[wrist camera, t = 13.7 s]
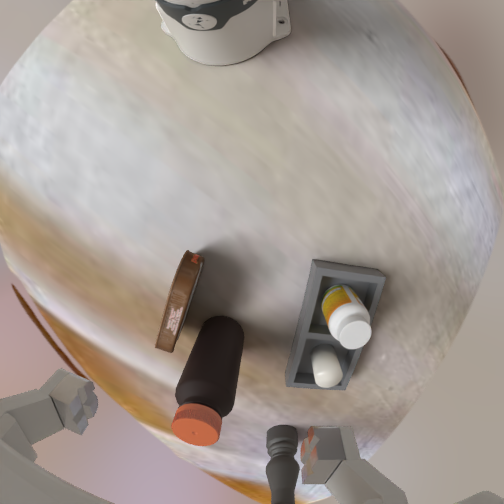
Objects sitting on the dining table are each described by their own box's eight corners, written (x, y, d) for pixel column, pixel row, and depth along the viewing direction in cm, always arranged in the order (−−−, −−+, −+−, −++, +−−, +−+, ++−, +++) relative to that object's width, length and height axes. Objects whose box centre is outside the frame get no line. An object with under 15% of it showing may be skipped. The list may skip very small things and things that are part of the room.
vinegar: (218, 306, 42) (184, 401, 22) (253, 333, 43) (242, 435, 23) (192, 334, 43) (151, 427, 24) (226, 358, 44) (203, 457, 25)
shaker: (313, 342, 42) (319, 366, 36) (338, 344, 42) (346, 367, 36) (307, 362, 43) (311, 386, 37) (331, 364, 43) (338, 388, 37)
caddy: (312, 259, 39) (316, 267, 36) (377, 269, 39) (385, 277, 35) (285, 372, 44) (285, 386, 41) (341, 377, 44) (345, 390, 41)
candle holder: (279, 421, 48) (279, 534, 24) (303, 431, 49) (311, 537, 24) (260, 435, 49) (254, 540, 25) (284, 445, 50) (285, 545, 26)
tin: (192, 242, 39) (173, 260, 31) (212, 251, 40) (198, 270, 31) (165, 327, 43) (147, 357, 35) (183, 335, 44) (168, 366, 36)
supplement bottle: (315, 313, 40) (327, 351, 31) (326, 280, 39) (342, 311, 30) (349, 319, 40) (367, 356, 31) (360, 286, 39) (384, 318, 30)
